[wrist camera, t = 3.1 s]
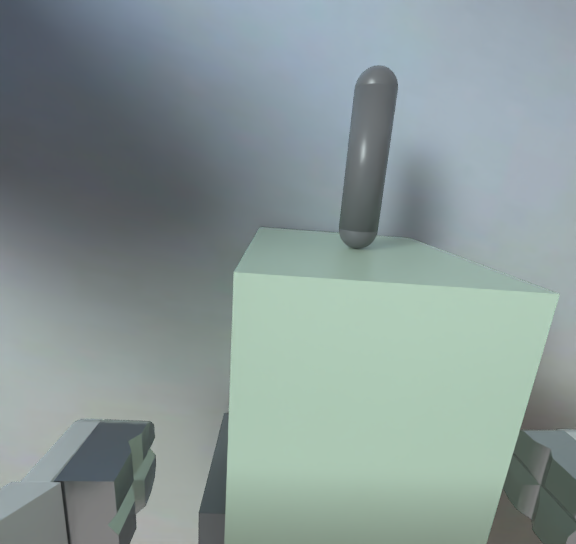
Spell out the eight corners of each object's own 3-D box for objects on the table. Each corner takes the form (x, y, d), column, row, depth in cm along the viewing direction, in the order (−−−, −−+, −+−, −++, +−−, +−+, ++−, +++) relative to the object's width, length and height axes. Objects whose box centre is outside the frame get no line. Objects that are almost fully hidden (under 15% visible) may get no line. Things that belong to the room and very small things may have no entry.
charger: (430, 111, 10) (647, -4, 4) (371, 468, 13) (442, 691, 7) (266, 96, 10) (244, -47, 4) (247, 463, 13) (219, 686, 7)
